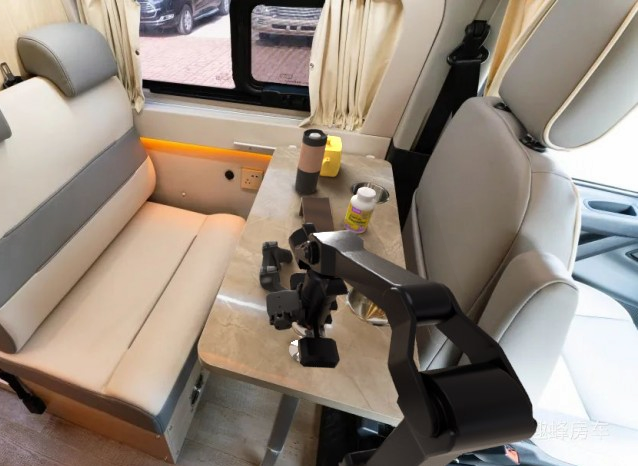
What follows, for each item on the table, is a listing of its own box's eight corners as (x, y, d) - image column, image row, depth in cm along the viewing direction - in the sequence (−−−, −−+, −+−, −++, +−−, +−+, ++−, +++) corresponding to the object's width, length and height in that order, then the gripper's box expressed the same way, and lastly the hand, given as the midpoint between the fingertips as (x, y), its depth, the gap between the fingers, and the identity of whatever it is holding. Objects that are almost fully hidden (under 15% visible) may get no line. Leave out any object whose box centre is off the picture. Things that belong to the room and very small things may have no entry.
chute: (341, 276, 84) (348, 257, 79) (310, 275, 84) (315, 256, 80) (324, 214, 103) (328, 196, 98) (298, 214, 103) (301, 196, 99)
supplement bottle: (340, 230, 97) (351, 194, 89) (345, 217, 102) (356, 182, 93) (363, 237, 95) (377, 201, 86) (367, 224, 99) (381, 188, 91)
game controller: (271, 260, 92) (256, 235, 86) (294, 255, 89) (280, 229, 84) (267, 309, 80) (250, 283, 75) (294, 304, 77) (278, 277, 72)
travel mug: (292, 192, 112) (301, 137, 99) (295, 180, 117) (304, 127, 104) (315, 196, 110) (327, 141, 97) (317, 184, 116) (329, 130, 102)
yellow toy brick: (339, 184, 116) (347, 154, 108) (303, 180, 118) (309, 150, 110) (337, 157, 130) (344, 128, 122) (305, 153, 132) (311, 125, 124)
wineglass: (312, 371, 65) (323, 336, 58) (280, 357, 68) (286, 321, 60) (321, 344, 70) (332, 308, 62) (290, 332, 72) (297, 296, 65)
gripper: (268, 250, 62) (262, 299, 73) (275, 339, 49) (266, 384, 59) (327, 252, 62) (312, 301, 72) (351, 342, 48) (328, 387, 59)
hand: (304, 339), depth 66 cm, fingers closed on wineglass, 7 cm apart
